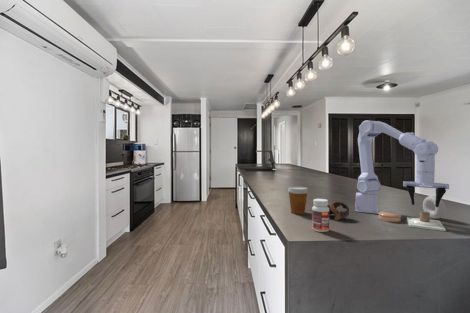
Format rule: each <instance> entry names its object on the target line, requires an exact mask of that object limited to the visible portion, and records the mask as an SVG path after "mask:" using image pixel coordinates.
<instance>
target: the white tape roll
mask: <svg viewBox="0 0 470 313" xmlns="http://www.w3.org/2000/svg"><path fill="white" fill-rule="evenodd" d="M435 202H436V195H429V196H427V197H425V198H424V200H423V202H422V211H425V212H429V213H430V219H432V220H438V219H441V218H442V217H444V216H445V214H446V204H445V203H444V201H443V200H442V199H441V201H440V203H439V207H436V206H435ZM433 205H434V208H435V210H434V208H433Z"/></svg>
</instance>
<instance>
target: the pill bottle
mask: <svg viewBox="0 0 470 313" xmlns="http://www.w3.org/2000/svg"><path fill="white" fill-rule="evenodd" d="M327 205H329V201H328V199H325V198H314V199H313V206H312V208H311V229H312V230H313V231H314V232H319V233H325V232H329V230H330V215H329V208H328V207H327Z"/></svg>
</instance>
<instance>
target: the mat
mask: <svg viewBox="0 0 470 313" xmlns="http://www.w3.org/2000/svg"><path fill="white" fill-rule="evenodd" d="M412 218H413V217H410V216H407V217H406V222H407V224H408V227H410V228H416V229H424V230H425V229H426V230H432V231H440V232H447V229H446V228H445V226H444V224H442V222H441V221H440V220H438V219H433V220H434V221H437V222H439V223H440V225H439V226H426V225H420V224H416V223H413V222H411V219H412Z"/></svg>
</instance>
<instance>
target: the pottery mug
mask: <svg viewBox="0 0 470 313" xmlns="http://www.w3.org/2000/svg"><path fill="white" fill-rule="evenodd" d="M340 206H341V207H342V208H343V209H346V210H345V211H343V210H340V211H339V210H338V209H337V208H338V207H340ZM327 207H328V208H329V216H330V215H333V216H334V220H335V221H340V220H341V219H345V218H347V217H348V216H349V214H350V209H349V208H350V207H349V206H348V205H347V204H346V203H344V202H342V201H333V202H332V203H331V204H328V205H327Z"/></svg>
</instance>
